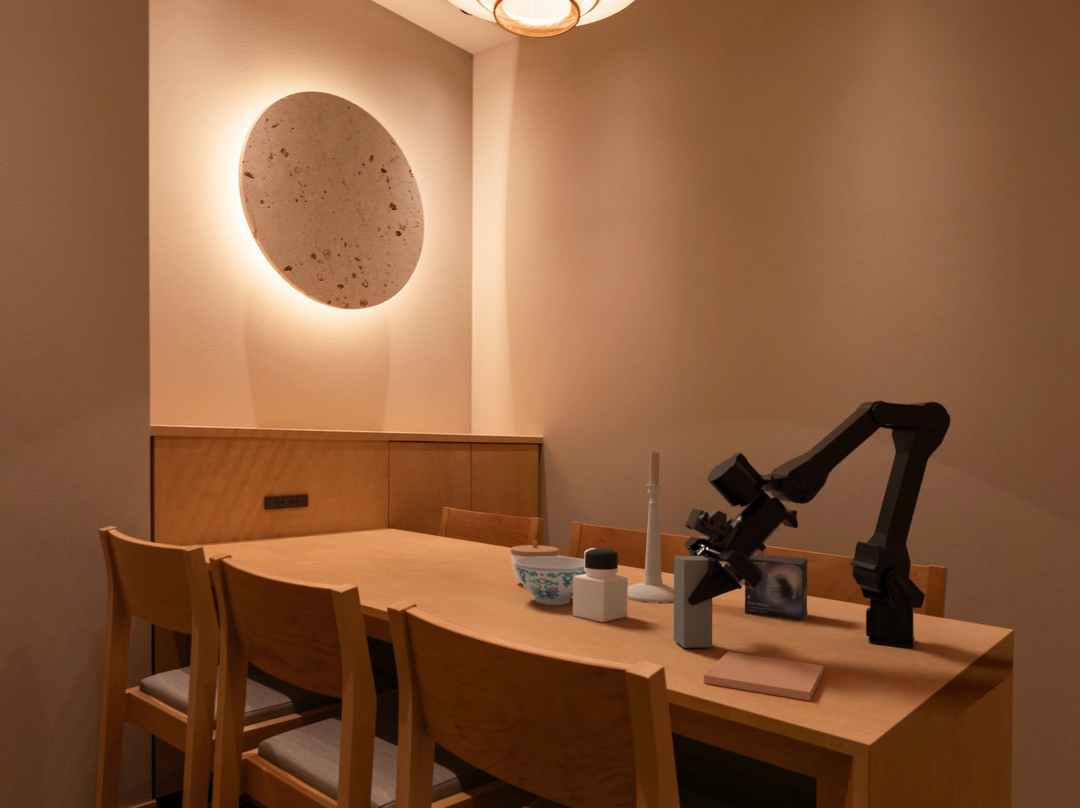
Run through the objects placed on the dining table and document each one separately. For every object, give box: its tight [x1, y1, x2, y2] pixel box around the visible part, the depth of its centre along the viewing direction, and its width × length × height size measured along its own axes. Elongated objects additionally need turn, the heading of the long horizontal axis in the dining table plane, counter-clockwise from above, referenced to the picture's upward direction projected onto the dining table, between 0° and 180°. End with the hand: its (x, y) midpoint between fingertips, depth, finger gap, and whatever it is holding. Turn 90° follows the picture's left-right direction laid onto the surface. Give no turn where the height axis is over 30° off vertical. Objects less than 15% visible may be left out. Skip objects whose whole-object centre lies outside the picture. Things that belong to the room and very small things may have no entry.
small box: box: [744, 553, 809, 621], centre depth 139 cm, size 11×6×10 cm, turn 62°
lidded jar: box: [510, 540, 560, 585], centre depth 165 cm, size 11×11×9 cm
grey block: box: [673, 555, 713, 649], centre depth 115 cm, size 4×4×13 cm
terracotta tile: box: [703, 651, 824, 702], centre depth 99 cm, size 13×13×1 cm
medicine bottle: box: [572, 547, 629, 623], centre depth 134 cm, size 7×7×12 cm
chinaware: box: [515, 555, 586, 606], centre depth 146 cm, size 15×15×8 cm
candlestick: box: [627, 450, 674, 603], centre depth 154 cm, size 13×13×30 cm
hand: (684, 599), depth 115 cm, fingers closed on grey block, 4 cm apart
